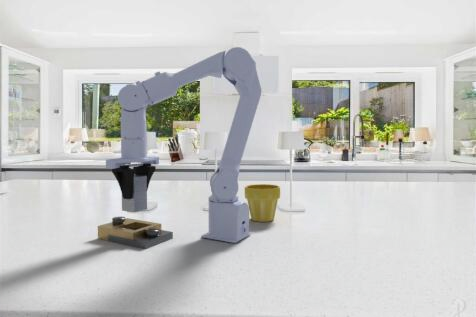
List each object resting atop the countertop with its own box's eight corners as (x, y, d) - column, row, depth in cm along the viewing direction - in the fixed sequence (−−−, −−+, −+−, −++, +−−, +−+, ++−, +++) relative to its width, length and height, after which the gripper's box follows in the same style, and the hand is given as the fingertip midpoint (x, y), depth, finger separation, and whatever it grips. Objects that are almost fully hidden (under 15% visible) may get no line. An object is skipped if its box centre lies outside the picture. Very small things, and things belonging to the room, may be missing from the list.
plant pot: (237, 219, 99) (237, 186, 98) (259, 213, 106) (259, 182, 106) (265, 225, 92) (265, 190, 91) (286, 219, 99) (287, 186, 99)
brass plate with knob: (172, 238, 80) (172, 220, 80) (145, 249, 72) (144, 229, 72) (127, 229, 87) (127, 213, 87) (97, 238, 80) (97, 220, 79)
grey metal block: (147, 209, 80) (146, 175, 80) (134, 212, 77) (133, 177, 76) (134, 207, 82) (134, 174, 82) (121, 210, 79) (121, 176, 78)
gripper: (144, 138, 87) (144, 191, 88) (95, 139, 74) (97, 200, 75) (165, 139, 83) (165, 193, 84) (118, 139, 71) (119, 203, 71)
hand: (134, 197), depth 79 cm, fingers closed on grey metal block, 4 cm apart
